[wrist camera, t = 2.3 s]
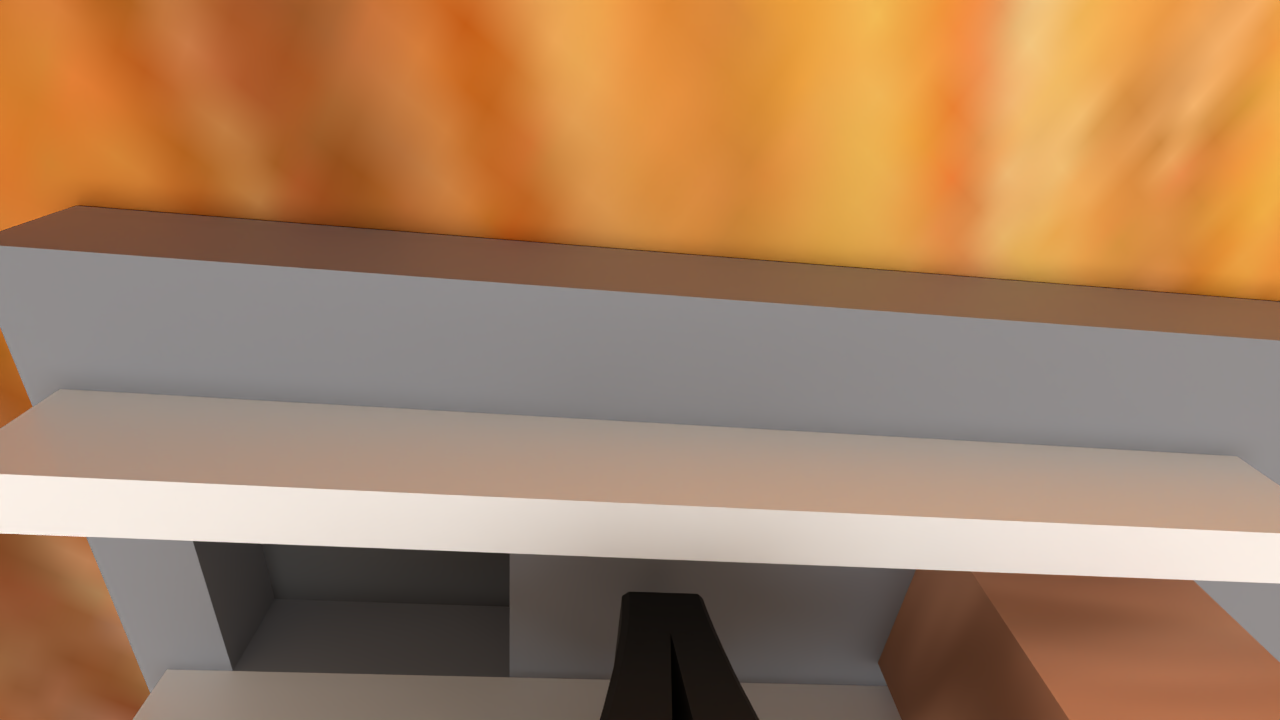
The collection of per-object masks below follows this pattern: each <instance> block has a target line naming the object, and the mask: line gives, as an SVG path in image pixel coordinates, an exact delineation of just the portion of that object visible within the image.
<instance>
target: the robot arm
mask: <svg viewBox="0 0 1280 720" xmlns="http://www.w3.org/2000/svg"><path fill="white" fill-rule="evenodd" d="M600 720H759V718H758V716H757V714H756V712H755V710H754V709H753V707H752V705H751V703H750V701H749V699H748V697H747V695H746V693H745V692H744V690H743V688H742V686H741V684H740V682H739V680H738V678H737V676H736V674H735V672H734V670H733V668H732V666H731V664H730V661H729V659H728V657H727V655H726V653H725V651H724V649H723V646H722V644H721V642H720V640H719V637H718V635H717V633H716V631H715V628H714V626H713V623H712V621H711V618H710V616H709V613H708V611H707V608H706V606H705V603H704V600H703V598H702V597H701V596H700V595H699V594H689V593H660V592H630V591H629V592H627V593H626V594H624V595H623V596H622V600H621V608H620V617H619V626H618V635H617V643H616V652H615V661H614V668H613V672H612V675H611V679H610V683H609V687H608V691H607V695H606V699H605V703H604V706H603V710H602V713H601V717H600Z"/></svg>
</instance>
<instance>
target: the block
mask: <svg viewBox="0 0 1280 720" xmlns="http://www.w3.org/2000/svg"><path fill="white" fill-rule="evenodd" d="M878 665H879V667H880V669H881V672H882V674H883V677H884V679H885V681H886V684H887V686H888V688H889V691H890V693H891V696H892V698H893V700H894V703H895V705H896V707H897V710H898V712H899V715H900V717H901V719H902V720H1280V662H1279V661H1278V660H1277V659H1276V658H1274V657H1273V656H1272V655H1271V654H1270V653H1269V652H1268V651H1267V650H1266V649H1265V648H1264V647H1263V646H1262V645H1261V644H1260V643H1259V642H1258V641H1257V640H1256V639H1254V638H1253V637H1252V636H1251V635H1250V634H1249V633H1248V632H1247V631H1246V630H1245V629H1244V628H1243V627H1242V626H1241V625H1240V624H1239V623H1238V622H1237V621H1236V620H1235V619H1233V618H1232V617H1231V616H1230V615H1229V614H1228V613H1227V612H1226V611H1225V610H1224V609H1223V608H1222V607H1221V606H1220V605H1219V604H1218V603H1217V602H1216V601H1215V600H1213V599H1212V598H1211V597H1210V596H1209V595H1208V594H1207V593H1206V592H1205V591H1204V590H1203V589H1202V588H1201V587H1200V586H1199V585H1198V584H1197V583H1196V582H1195V581H1194V580H1178V579H1152V578H1127V577H1102V576H1076V575H1051V574H1025V573H1000V572H974V571H949V570H923V569H916V571H915V573H914V576H913V578H912V581H911V583H910V586H909V588H908V590H907V593H906V595H905V598H904V600H903V603H902V605H901V608H900V610H899V612H898V615H897V617H896V620H895V622H894V625H893V627H892V630H891V632H890V634H889V637H888V639H887V642H886V644H885V647H884V649H883V652H882V654H881V656H880V659H879V661H878Z"/></svg>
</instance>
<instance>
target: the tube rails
mask: <svg viewBox="0 0 1280 720" xmlns="http://www.w3.org/2000/svg"><path fill="white" fill-rule="evenodd" d="M0 533H6V534H31V535H57V536H82V537H108V538H133V539H159V540H184V541H210V542H235V543H261V544H286V545H311V546H337V547H362V548H388V549H413V550H439V551H464V552H490V553H515V554H541V555H566V556H592V557H617V558H643V559H668V560H694V561H719V562H745V563H770V564H796V565H821V566H847V567H872V568H898V569H923V570H949V571H974V572H1000V573H1025V574H1051V575H1076V576H1102V577H1127V578H1152V579H1178V580H1203V581H1229V582H1254V583H1280V486H1279V485H1278V484H1276V483H1275V482H1274V481H1272V480H1271V479H1269V478H1268V477H1266V476H1265V475H1263V474H1262V473H1260V472H1259V471H1258V470H1256V469H1255V468H1253V467H1252V466H1250V465H1249V464H1247V463H1246V462H1244V461H1243V460H1242V459H1240V458H1239V457H1237V456H1223V455H1205V454H1188V453H1170V452H1153V451H1135V450H1118V449H1101V448H1083V447H1066V446H1048V445H1031V444H1013V443H996V442H978V441H961V440H943V439H926V438H908V437H891V436H873V435H856V434H838V433H821V432H803V431H786V430H768V429H751V428H733V427H716V426H698V425H681V424H663V423H646V422H628V421H611V420H593V419H576V418H558V417H541V416H523V415H506V414H488V413H471V412H454V411H436V410H419V409H401V408H384V407H366V406H349V405H331V404H314V403H296V402H279V401H261V400H244V399H226V398H209V397H191V396H174V395H156V394H139V393H121V392H104V391H86V390H69V389H59V390H58V391H56V392H55V393H53V394H52V395H50V396H49V397H47V398H46V399H44V400H43V401H41V402H40V403H38V404H37V405H35V406H34V407H32V408H31V409H29V410H28V411H26V412H25V413H23V414H22V415H20V416H19V417H17V418H16V419H14V420H13V421H11V422H10V423H8V424H7V425H5V426H4V427H2V428H1V429H0ZM609 683H610V680H601V679H558V678H514V677H471V676H428V675H385V674H342V673H299V672H255V671H212V670H169V669H167V670H166V672H165V673H164V675H163V676H162V677H161V679H160V680H159V682H158V683H157V685H156V686H155V688H154V689H153V691H152V692H151V694H150V695H149V696H148V698H147V699H146V701H145V702H144V704H143V705H142V707H141V708H140V710H139V711H138V712H137V714H136V715H135V717H134V718H133V720H600V717H601V713H602V710H603V706H604V703H605V699H606V695H607V691H608V687H609ZM740 684H741V686H742V688H743V690H744V692H745V693H746V695H747V697H748V699H749V701H750V703H751V705H752V707H753V709H754V710H755V712H756V714H757V716H758V718H759V720H902V719H901V717H900V715H899V712H898V710H897V707H896V705H895V703H894V700H893V698H892V696H891V693H890V691H889V688H888V686H860V685H817V684H773V683H740Z"/></svg>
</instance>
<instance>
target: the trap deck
mask: <svg viewBox="0 0 1280 720" xmlns="http://www.w3.org/2000/svg"><path fill="white" fill-rule="evenodd" d="M0 328H1V330H2V333H3V335H4V338H5V340H6V343H7V345H8V347H9V350H10V352H11V355H12V357H13V360H14V362H15V365H16V367H17V369H18V372H19V374H20V377H21V379H22V382H23V384H24V386H25V389H26V391H27V394H28V396H29V399H30V401H31V404H32V406H33V407H34V406H35V405H37V404H38V403H40V402H41V401H43V400H44V399H46V398H47V397H49V396H50V395H52V394H53V393H55V392H56V391H58V390H59V389H69V390H86V391H104V392H121V393H139V394H156V395H174V396H191V397H209V398H226V399H244V400H261V401H279V402H296V403H314V404H331V405H349V406H366V407H384V408H401V409H419V410H436V411H454V412H471V413H488V414H506V415H523V416H541V417H558V418H576V419H593V420H611V421H628V422H646V423H663V424H681V425H698V426H716V427H733V428H751V429H768V430H786V431H803V432H821V433H838V434H856V435H873V436H891V437H908V438H926V439H943V440H961V441H978V442H996V443H1013V444H1031V445H1048V446H1066V447H1083V448H1101V449H1118V450H1135V451H1153V452H1170V453H1188V454H1205V455H1223V456H1237V457H1239V458H1240V459H1242V460H1243V461H1244V462H1246V463H1247V464H1249V465H1250V466H1252V467H1253V468H1255V469H1256V470H1258V471H1259V472H1260V473H1262V474H1263V475H1265V476H1266V477H1268V478H1269V479H1271V480H1272V481H1274V482H1275V483H1276V484H1278V485H1279V486H1280V302H1278V301H1266V300H1253V299H1240V298H1228V297H1215V296H1203V295H1190V294H1178V293H1165V292H1153V291H1140V290H1128V289H1115V288H1103V287H1090V286H1078V285H1065V284H1052V283H1040V282H1027V281H1015V280H1002V279H990V278H977V277H965V276H952V275H940V274H927V273H915V272H902V271H890V270H877V269H865V268H852V267H839V266H827V265H814V264H802V263H789V262H777V261H764V260H752V259H739V258H727V257H714V256H702V255H689V254H677V253H664V252H651V251H639V250H626V249H614V248H601V247H589V246H576V245H564V244H551V243H539V242H526V241H514V240H501V239H489V238H476V237H463V236H451V235H438V234H426V233H413V232H401V231H388V230H376V229H363V228H351V227H338V226H326V225H313V224H301V223H288V222H275V221H263V220H250V219H238V218H225V217H213V216H200V215H188V214H175V213H163V212H150V211H138V210H125V209H113V208H100V207H87V206H73V207H70V208H67V209H65V210H62V211H59V212H56V213H53V214H50V215H47V216H44V217H41V218H38V219H35V220H32V221H29V222H26V223H23V224H20V225H17V226H14V227H12V228H9V229H6V230H3V231H0ZM87 540H88V542H89V545H90V547H91V550H92V552H93V555H94V557H95V559H96V562H97V564H98V567H99V569H100V572H101V574H102V576H103V579H104V581H105V584H106V586H107V589H108V591H109V593H110V596H111V598H112V601H113V603H114V606H115V608H116V611H117V613H118V615H119V618H120V620H121V623H122V625H123V628H124V630H125V632H126V635H127V637H128V640H129V642H130V645H131V647H132V650H133V652H134V654H135V657H136V659H137V662H138V664H139V667H140V669H141V671H142V674H143V676H144V679H145V681H146V684H147V686H148V688H149V691H150V693H151V692H152V691H153V689H154V688H155V686H156V685H157V683H158V682H159V680H160V679H161V677H162V676H163V675H164V673H165V672H166V670H167V669H169V670H212V671H255V672H299V673H342V674H385V675H428V676H471V677H514V678H558V679H601V680H610V679H611V675H612V672H613V668H614V661H615V652H616V643H617V635H618V626H619V617H620V608H621V600H622V596H623V595H624V594H626V593H627V592H629V591H630V592H660V593H689V594H699V595H700V596H701V597H702V598H703V600H704V603H705V606H706V608H707V611H708V613H709V616H710V618H711V621H712V623H713V626H714V628H715V631H716V633H717V635H718V637H719V640H720V642H721V644H722V646H723V649H724V651H725V653H726V655H727V657H728V659H729V661H730V664H731V666H732V668H733V670H734V672H735V674H736V676H737V678H738V680H739V682H740V683H773V684H817V685H860V686H887V684H886V681H885V679H884V677H883V674H882V672H881V669H880V667H879V665H878V661H879V659H880V656H881V654H882V652H883V649H884V647H885V644H886V642H887V639H888V637H889V634H890V632H891V630H892V627H893V625H894V622H895V620H896V617H897V615H898V612H899V610H900V608H901V605H902V603H903V600H904V598H905V595H906V593H907V590H908V588H909V586H910V583H911V581H912V578H913V576H914V573H915V571H916V569H898V568H872V567H847V566H821V565H796V564H770V563H745V562H719V561H694V560H668V559H643V558H617V557H592V556H566V555H541V554H515V553H490V552H464V551H439V550H413V549H388V548H362V547H337V546H311V545H286V544H261V543H235V542H210V541H184V540H159V539H133V538H108V537H87ZM1194 581H1195V582H1196V583H1197V584H1198V585H1199V586H1200V587H1201V588H1202V589H1203V590H1204V591H1205V592H1206V593H1207V594H1208V595H1209V596H1210V597H1211V598H1212V599H1213V600H1215V601H1216V602H1217V603H1218V604H1219V605H1220V606H1221V607H1222V608H1223V609H1224V610H1225V611H1226V612H1227V613H1228V614H1229V615H1230V616H1231V617H1232V618H1233V619H1235V620H1236V621H1237V622H1238V623H1239V624H1240V625H1241V626H1242V627H1243V628H1244V629H1245V630H1246V631H1247V632H1248V633H1249V634H1250V635H1251V636H1252V637H1253V638H1254V639H1256V640H1257V641H1258V642H1259V643H1260V644H1261V645H1262V646H1263V647H1264V648H1265V649H1266V650H1267V651H1268V652H1269V653H1270V654H1271V655H1272V656H1273V657H1274V658H1276V659H1277V660H1278V661H1279V662H1280V583H1254V582H1229V581H1203V580H1194Z"/></svg>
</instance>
